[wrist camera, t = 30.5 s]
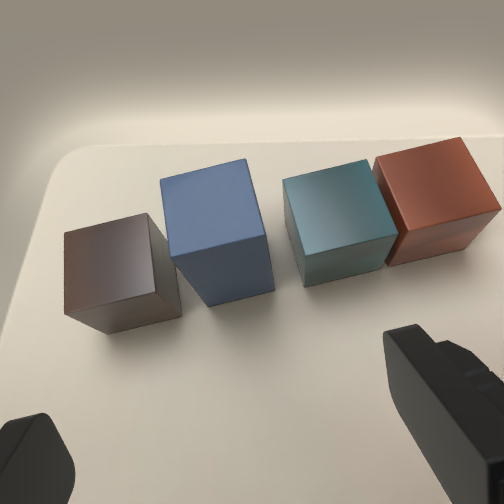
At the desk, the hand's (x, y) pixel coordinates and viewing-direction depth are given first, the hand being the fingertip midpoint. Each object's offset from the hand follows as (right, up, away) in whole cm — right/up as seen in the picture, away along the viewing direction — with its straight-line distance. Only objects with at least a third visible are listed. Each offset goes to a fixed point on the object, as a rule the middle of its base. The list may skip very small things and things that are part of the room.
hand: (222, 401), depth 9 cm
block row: (+2, +3, +17) cm, 17 cm away
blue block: (0, +2, +17) cm, 17 cm away
